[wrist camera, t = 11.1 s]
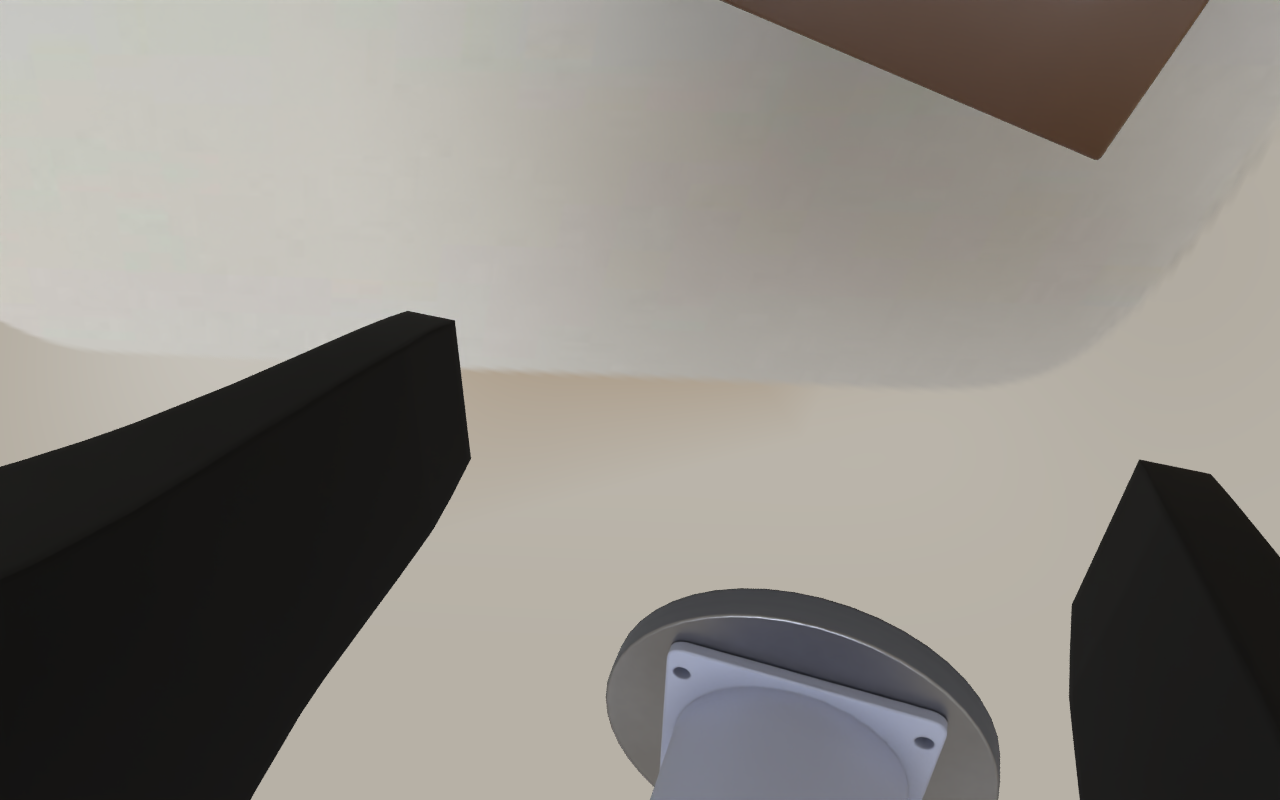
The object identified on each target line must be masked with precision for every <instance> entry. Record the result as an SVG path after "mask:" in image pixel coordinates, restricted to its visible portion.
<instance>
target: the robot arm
mask: <svg viewBox="0 0 1280 800" xmlns="http://www.w3.org/2000/svg"><path fill="white" fill-rule="evenodd" d="M470 459H471V456H470V447H469V438H468V431H467V421H466V413H465V405H464V396H463V388H462V379H461V370H460V361H459V353H458V344H457V336H456V327H455V320H450V319H445V318H440V317H435V316H430V315H425V314H420V313H415V312H410V311H406V312H403V313H400V314H397V315H394V316H391V317H388V318H385V319H383V320H380V321H378V322H375V323H373V324H370V325H368V326H365V327H363V328H360V329H358V330H356V331H353V332H351V333H349V334H346V335H344V336H342V337H339V338H337V339H335V340H332V341H330V342H328V343H325V344H323V345H321V346H319V347H316V348H314V349H312V350H310V351H307V352H305V353H303V354H300V355H298V356H296V357H294V358H291V359H289V360H287V361H284V362H282V363H280V364H277V365H275V366H273V367H271V368H268V369H266V370H264V371H262V372H259V373H257V374H255V375H252V376H250V377H248V378H245V379H243V380H241V381H238V382H236V383H234V384H231V385H229V386H226V387H224V388H221V389H219V390H217V391H214V392H211V393H209V394H206V395H204V396H201V397H199V398H196V399H194V400H191V401H189V402H186V403H184V404H181V405H179V406H176V407H174V408H171V409H169V410H166V411H164V412H161V413H159V414H156V415H153V416H151V417H148V418H146V419H143V420H141V421H138V422H136V423H133V424H130V425H127V426H125V427H122V428H119V429H116V430H114V431H111V432H108V433H105V434H102V435H99V436H96V437H93V438H91V439H88V440H85V441H82V442H79V443H76V444H73V445H69V446H66V447H63V448H60V449H57V450H54V451H50V452H47V453H44V454H41V455H38V456H34V457H32V458H28V459H25V460H22V461H19V462H15V463H12V464H8V465H5V466H1V467H0V800H251V798H252V796H253V794H254V792H255V791H256V789H257V787H258V785H259V784H260V782H261V780H262V778H263V777H264V775H265V773H266V772H267V770H268V768H269V767H270V765H271V763H272V762H273V760H274V758H275V757H276V755H277V753H278V751H279V750H280V748H281V746H282V745H283V743H284V741H285V739H286V738H287V736H288V734H289V732H290V731H291V729H292V728H293V726H294V724H295V723H296V721H297V719H298V717H299V716H300V714H301V713H302V711H303V709H304V708H305V707H306V705H307V704H308V702H309V701H310V699H311V698H312V696H313V695H314V693H315V692H316V690H317V689H318V687H319V686H320V684H321V683H322V681H323V680H324V679H325V677H326V676H327V674H328V673H329V671H330V670H331V669H332V668H333V666H334V665H335V664H336V662H337V661H338V660H339V658H340V657H341V655H342V654H343V653H344V651H345V650H346V649H347V647H348V646H349V645H350V643H351V642H352V640H353V639H354V638H355V636H356V635H357V634H358V632H359V631H360V629H361V628H362V627H363V625H364V624H365V623H366V621H367V620H368V619H369V617H370V616H371V615H372V613H373V612H374V610H375V609H376V608H377V606H378V605H379V604H380V602H381V601H382V600H383V598H384V597H385V596H386V594H387V593H388V592H389V590H390V589H391V587H392V586H393V585H394V583H395V582H396V581H397V579H398V578H399V577H400V575H401V574H402V572H403V571H404V570H405V568H406V567H407V565H408V564H409V563H410V561H411V560H412V558H413V557H414V556H415V554H416V553H417V552H418V550H419V549H420V547H421V546H422V545H423V543H424V542H425V540H426V539H427V537H428V536H429V535H430V533H431V532H432V530H433V529H434V527H435V525H436V523H437V522H438V520H439V518H440V516H441V514H442V513H443V511H444V509H445V507H446V505H447V504H448V502H449V500H450V498H451V496H452V495H453V493H454V491H455V489H456V487H457V485H458V483H459V481H460V479H461V477H462V475H463V473H464V471H465V469H466V467H467V465H468V463H469V461H470ZM1069 701H1070V711H1071V722H1072V731H1073V741H1074V750H1075V759H1076V768H1077V777H1078V787H1079V795H1080V800H1280V557H1279V556H1278V554H1277V553H1276V552H1275V551H1274V549H1273V548H1272V547H1271V546H1270V544H1269V543H1268V542H1267V541H1266V539H1265V538H1264V537H1263V536H1262V535H1261V533H1260V532H1259V531H1258V530H1257V529H1256V527H1255V526H1254V525H1253V524H1252V522H1251V521H1250V520H1249V519H1248V517H1247V516H1246V515H1245V514H1244V513H1243V511H1242V510H1241V509H1240V508H1239V506H1238V505H1237V504H1236V503H1235V502H1234V500H1233V499H1232V498H1231V497H1230V496H1229V495H1228V493H1227V492H1226V491H1225V490H1224V489H1223V488H1222V486H1221V485H1220V484H1219V483H1218V482H1217V481H1216V480H1215V478H1214V477H1213V476H1212V475H1211V474H1207V473H1203V472H1198V471H1193V470H1188V469H1183V468H1178V467H1173V466H1168V465H1163V464H1158V463H1153V462H1149V461H1144V460H1139V461H1138V464H1137V466H1136V468H1135V470H1134V473H1133V475H1132V477H1131V479H1130V481H1129V483H1128V485H1127V487H1126V490H1125V492H1124V494H1123V496H1122V498H1121V500H1120V503H1119V504H1118V507H1117V509H1116V511H1115V513H1114V515H1113V517H1112V520H1111V522H1110V524H1109V526H1108V528H1107V530H1106V532H1105V535H1104V537H1103V539H1102V541H1101V543H1100V545H1099V547H1098V550H1097V552H1096V554H1095V556H1094V558H1093V560H1092V563H1091V565H1090V567H1089V569H1088V571H1087V573H1086V576H1085V578H1084V580H1083V582H1082V584H1081V586H1080V589H1079V591H1078V593H1077V595H1076V597H1075V599H1074V601H1073V603H1072V616H1071V640H1070V679H1069ZM947 727H948V722H947V721H946V719H945V718H944V717H943V716H942V715H940V714H939V713H937V712H934V711H932V710H928V709H925V708H921V707H917V706H914V705H910V704H907V703H903V702H900V701H896V700H892V699H889V698H885V697H882V696H878V695H874V694H871V693H867V692H864V691H860V690H857V689H853V688H849V687H846V686H842V685H839V684H835V683H832V682H828V681H824V680H821V679H817V678H814V677H810V676H806V675H803V674H799V673H796V672H792V671H789V670H785V669H781V668H778V667H774V666H771V665H767V664H763V663H760V662H756V661H753V660H749V659H746V658H742V657H738V656H735V655H731V654H728V653H724V652H721V651H717V650H713V649H710V648H706V647H703V646H699V645H695V644H692V643H688V642H682V641H681V642H675V643H674V644H672V645H671V647H670V650H669V652H668V655H667V664H666V679H665V694H664V710H663V725H662V741H661V756H660V771H659V775H658V778H657V781H656V784H655V787H654V790H653V793H652V796H651V798H650V800H922V799H923V796H924V794H925V791H926V789H927V786H928V783H929V781H930V778H931V776H932V773H933V771H934V768H935V766H936V763H937V760H938V758H939V755H940V753H941V750H942V748H943V745H944V743H945V740H946V737H947Z"/></svg>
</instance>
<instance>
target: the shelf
mask: <svg viewBox="0 0 1280 800" xmlns="http://www.w3.org/2000/svg"><path fill="white" fill-rule="evenodd" d="M721 1H723V2H725V3H728V4H730V5H732V6H735V7H737V8H739V9H742V10H744V11H746V12H749V13H751V14H753V15H756V16H758V17H760V18H763V19H765V20H767V21H770V22H772V23H775V24H777V25H779V26H782V27H784V28H786V29H789V30H791V31H793V32H796V33H798V34H800V35H803V36H805V37H807V38H810V39H812V40H814V41H817V42H819V43H822V44H824V45H826V46H829V47H831V48H833V49H836V50H838V51H840V52H843V53H845V54H847V55H850V56H852V57H854V58H857V59H859V60H861V61H864V62H866V63H868V64H871V65H873V66H876V67H878V68H880V69H883V70H885V71H887V72H890V73H892V74H894V75H897V76H899V77H901V78H904V79H906V80H908V81H911V82H913V83H915V84H918V85H920V86H923V87H925V88H927V89H930V90H932V91H934V92H937V93H939V94H941V95H944V96H946V97H948V98H951V99H953V100H955V101H958V102H960V103H962V104H965V105H967V106H969V107H972V108H974V109H977V110H979V111H981V112H984V113H986V114H988V115H991V116H993V117H995V118H998V119H1000V120H1002V121H1005V122H1007V123H1009V124H1012V125H1014V126H1016V127H1019V128H1021V129H1024V130H1026V131H1028V132H1031V133H1033V134H1035V135H1038V136H1040V137H1042V138H1045V139H1047V140H1049V141H1052V142H1054V143H1056V144H1059V145H1061V146H1063V147H1066V148H1068V149H1070V150H1073V151H1075V152H1078V153H1080V154H1082V155H1085V156H1087V157H1089V158H1092V159H1094V160H1098V159H1100V158H1101V157H1102V155H1103V154H1104V153H1105V151H1106V150H1107V148H1108V147H1109V145H1110V144H1111V142H1112V141H1113V139H1114V138H1115V137H1116V135H1117V134H1118V132H1119V131H1120V129H1121V128H1122V126H1123V125H1124V123H1125V122H1126V121H1127V119H1128V118H1129V116H1130V115H1131V113H1132V112H1133V110H1134V109H1135V108H1136V106H1137V105H1138V103H1139V102H1140V100H1141V99H1142V97H1143V96H1144V94H1145V93H1146V92H1147V90H1148V89H1149V87H1150V86H1151V84H1152V83H1153V81H1154V80H1155V78H1156V77H1157V76H1158V74H1159V73H1160V71H1161V70H1162V68H1163V67H1164V65H1165V64H1166V63H1167V61H1168V60H1169V58H1170V57H1171V55H1172V54H1173V52H1174V51H1175V49H1176V48H1177V47H1178V45H1179V44H1180V42H1181V41H1182V39H1183V38H1184V36H1185V35H1186V34H1187V32H1188V31H1189V29H1190V28H1191V26H1192V25H1193V23H1194V22H1195V20H1196V19H1197V18H1198V16H1199V15H1200V13H1201V12H1202V10H1203V9H1204V7H1205V6H1206V4H1207V3H1208V2H1209V0H721Z"/></svg>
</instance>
